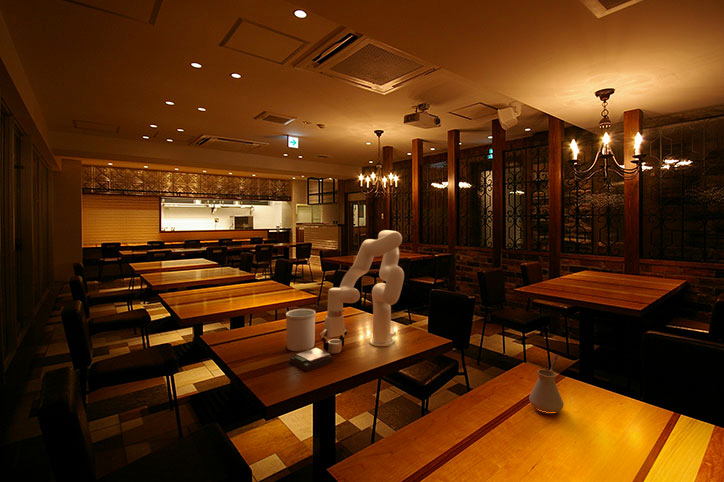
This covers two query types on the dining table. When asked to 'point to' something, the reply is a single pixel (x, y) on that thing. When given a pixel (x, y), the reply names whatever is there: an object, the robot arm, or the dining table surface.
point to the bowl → (335, 346)
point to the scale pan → (313, 354)
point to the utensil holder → (300, 329)
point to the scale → (309, 365)
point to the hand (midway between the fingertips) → (333, 347)
